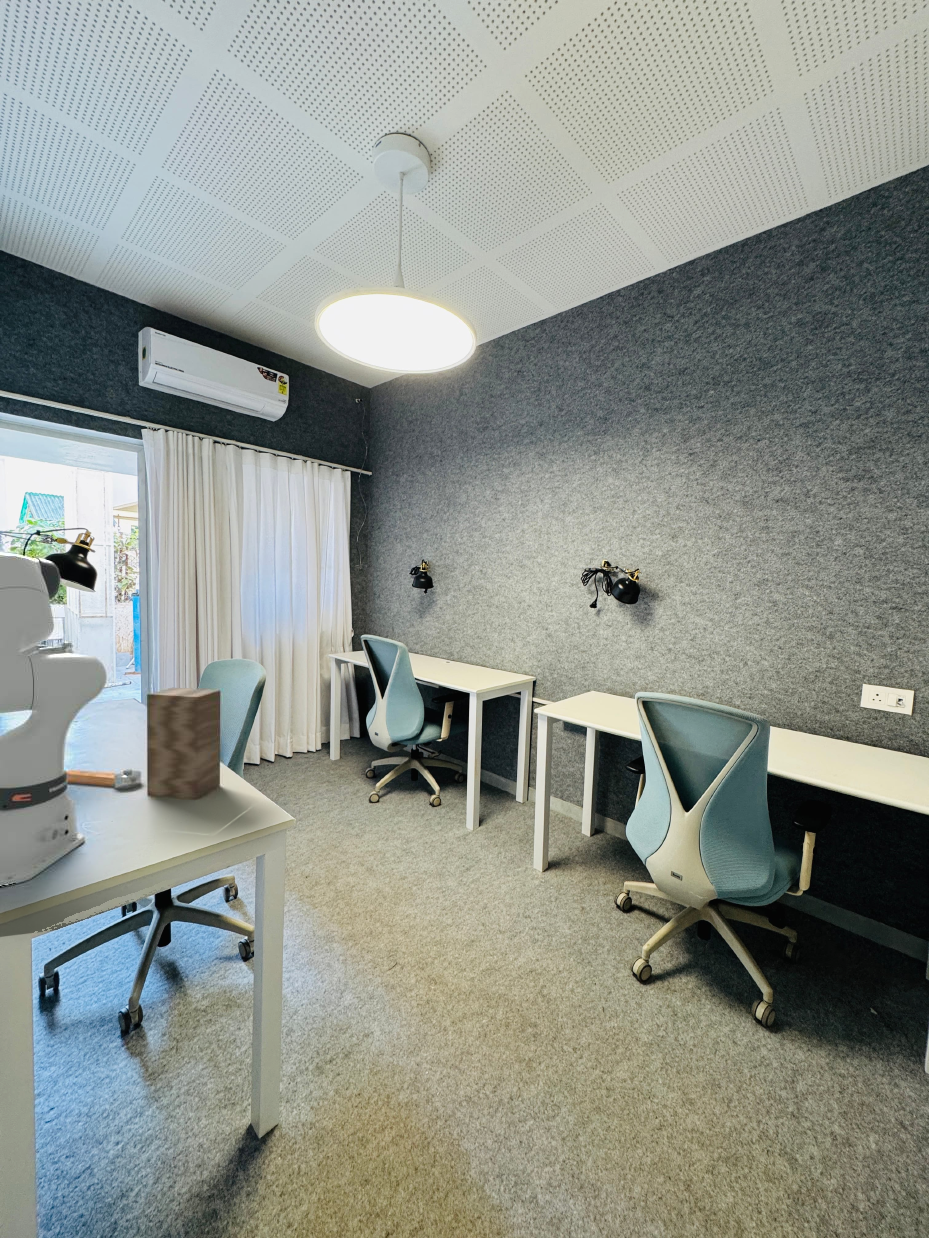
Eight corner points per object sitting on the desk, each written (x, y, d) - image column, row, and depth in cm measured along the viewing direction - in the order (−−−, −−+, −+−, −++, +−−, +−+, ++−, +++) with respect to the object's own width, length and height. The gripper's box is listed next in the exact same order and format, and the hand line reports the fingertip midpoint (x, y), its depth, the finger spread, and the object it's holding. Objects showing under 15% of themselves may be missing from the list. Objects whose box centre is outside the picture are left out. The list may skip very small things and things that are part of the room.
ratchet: (146, 782, 134) (146, 767, 134) (128, 790, 128) (128, 775, 128) (76, 776, 137) (76, 761, 137) (55, 784, 131) (55, 768, 131)
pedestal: (219, 785, 133) (220, 690, 132) (197, 799, 124) (197, 697, 123) (172, 781, 135) (172, 687, 134) (147, 794, 126) (147, 694, 125)
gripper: (-34, 664, 125) (7, 638, 123) (45, 654, 145) (81, 632, 143) (-22, 686, 125) (19, 661, 123) (55, 673, 145) (91, 652, 143)
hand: (53, 645), depth 133 cm, fingers open, 8 cm apart
